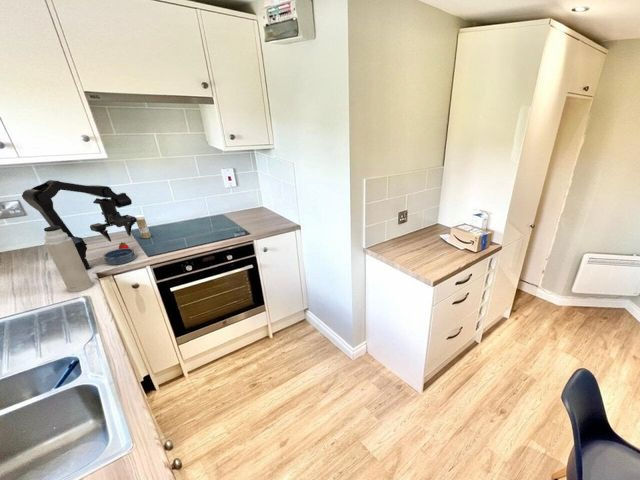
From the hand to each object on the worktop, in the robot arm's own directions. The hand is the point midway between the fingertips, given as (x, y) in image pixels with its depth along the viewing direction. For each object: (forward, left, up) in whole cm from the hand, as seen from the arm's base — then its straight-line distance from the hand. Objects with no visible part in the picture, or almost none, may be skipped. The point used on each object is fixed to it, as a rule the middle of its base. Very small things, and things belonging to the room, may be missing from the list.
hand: (120, 238), depth 171 cm
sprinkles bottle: (+18, +11, -8) cm, 23 cm away
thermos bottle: (-31, -22, -8) cm, 38 cm away
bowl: (-7, -9, -8) cm, 14 cm away
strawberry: (0, 0, -8) cm, 8 cm away
